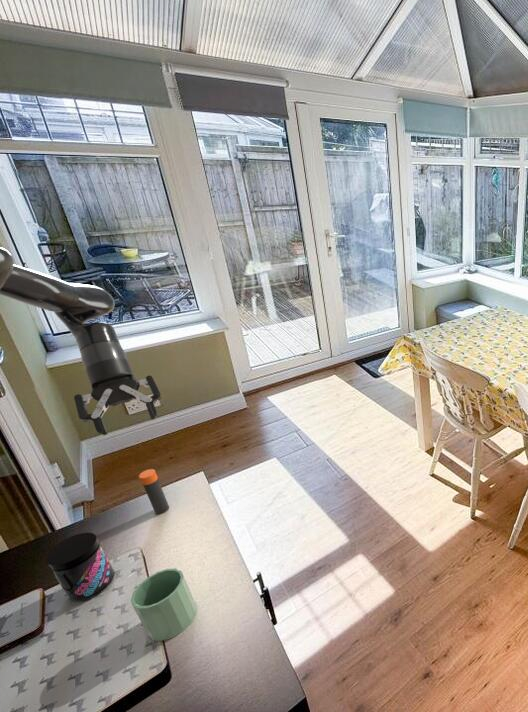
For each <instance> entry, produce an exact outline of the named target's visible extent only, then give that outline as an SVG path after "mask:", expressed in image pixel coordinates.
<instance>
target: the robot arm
mask: <svg viewBox="0 0 528 712" xmlns="http://www.w3.org/2000/svg"><path fill="white" fill-rule="evenodd" d="M0 295H1V296H4V297H6V298H9V299H12V300H14V301H18V302H21V303H23V304H26V305H29V306H32V307H35V308H39V309H41V310H42V309H43V310H46V311H49V312H53V313H54V315H55V316H56V317H57V318H58V319H59V320H60V321H61V322H62V323H63V324H64V326H65V327H66V328H67V329H68V331H69V332H70V333H71V334H72V336H73V338H74V339H75V342H76V344H77V347H78V350H79V352H80V358H81V362H82V366H83V368H84V371H85V374H86V377H87V380H88V382H89V385H90V387H91V391H90V392H89V393H86V394H83V395H81V394H79V393H78V394H75V395H74V396H73V400H74V403H75V408H76V411H77V414H78V415H77V416H78V419H80V421H81V422H83V423H87V422H92V423H93V425H94V428H95V431H96V432H97V434H99V435H101V434H102V435H103V436H106V435H108V431H107V428H106V424H105V422H104V420H103V418H102V417H104V414H105V413H106V412H107V410H108V409H109V407H116V406H119V405H121V404H125V403H129V402H131V401H132V400H135V401H137V402H139V403H143V404H145V407H146V409H147V412H148V414H149V416H150V420H155V419H156V417H157V416H158V411H157V408H156V405H155V403H156V402H157V401H160V400H162V394H161V392H160V390H159V388H158V385H157V384H156V382H155V380H154V377H153V376H152V375H147V376H146V377H145V378H142V379H138V380H137V379H136V377H135V376H134V373H133V370H132V367H131V365H130V363H129V359H128V356H127V354H126V352H125V350H124V349H123V347H122V345H121V342H120V340H119V338H118V335H117V333H116V330H115V328H114V326H113V325H111V324H110V323H107V322H103V321H100V322H97V321H96V322H88V321H92V320H94V319H98V318H100V317H103V316H105V315H108V314H110V313H112V312H113V311H114V308H115V306H116V302H115V299H114V297H113V296H112V295H111V294H110V293H109V292H108V291H106V290H105V289H103V288H101V287H99V286H96V285H91V284H83V283H74V282H67V281H64V280H62V279H59V278H57V277H54V276H52V275H49V274H46V273H42V272H40V271H36V270H33V269H30V268H26V267H23V266H20V265H16V264H14V258H13V256H12V254H11V253H10V252H9V250H7V249H5V248H3V247H1V246H0ZM87 322H88V323H87ZM141 386H144V387H145V388H149V389H150V392H151V394H152V395H151V396H149V395H146V394H144V393H142V392H140V391H139V388H140V387H141ZM92 399H93V400H95V401H97V404H96V405H95V408H94V410H93V412H92V413H89V412H88V408H87V405H88V404H90V400H92Z"/></svg>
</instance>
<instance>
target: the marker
mask: <svg viewBox="0 0 528 712" xmlns="http://www.w3.org/2000/svg"><path fill="white" fill-rule="evenodd" d="M158 478H159V477H158V474H157V473H156V470H155V469H153V468H150V469H146V470H143V471H142V472H140V474H139V475H138V479H139V481H140V483H141V485H142V486H143V488H144V490H145V493H146V495H147V498H148V499H149V502H150V504H151V506H152V508H153V511H154V513H155V514H156V515H161V514H164V513H166V512H167V511H168V510H170V509H169V508H170V505H169V503H168V500H167V498H166V495H165V493H164V490H163V488H162V485H161V483H160V481H159V479H158Z"/></svg>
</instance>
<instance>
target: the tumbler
mask: <svg viewBox="0 0 528 712" xmlns="http://www.w3.org/2000/svg"><path fill="white" fill-rule="evenodd" d="M130 603H131V606H132V608H133V609H134V611H135V613H136V615H137V617H138V619H139V621H140V623H141V624H142V626H143V628H144V630H145V632H146V634H147V636H148V637H149V638H150V639H151V640H152V641H155V642H163V641H168V640H170V639H173V638H174V637H176V636H178V635H180V634H181V633H182V632H184V631H185V630H186V629H187V628H188V627H189V626H190V625H191V623H192V622H193V621H194V619H195V617H196V615H197V611H198V606H197V604H196V602H195V599H194V597H193V594H192V592H191V590H190V587H189V585H188V583H187V580H186V579H185V575H184V574H183V572H182V570H181V569H179V568H174V567H173V568H165V569H161V570H159V571H157V572H155V573H153V574H151V575H149V576H147V577H146V578H145V579H144V580H142V582H140V583H139V584H138V586H136V588H135V589H134V590H133V592H132V594H131V598H130Z"/></svg>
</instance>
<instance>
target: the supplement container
mask: <svg viewBox="0 0 528 712" xmlns="http://www.w3.org/2000/svg"><path fill="white" fill-rule="evenodd" d="M44 561H45V564H46V565H47V566H48V569H49V570H50V571H51V573H52V574H53V576H54V578H55V579H56V580H57V582H58V583H59V585H60V587H61V588H62V590H63V592H64V593H65V595H66V596H67V598H68V599H69V600H71V601H74V602H81V601H85V600H88V599H91V597H92V598H93V596H94V597H96V596H98V595H100V593H102V592H104V591H105V590H106V589H107V588H108V587H109V586H110V585H111V583H112V582H113V580H114V578H115V574H116V573H115V571H116V570H115V569H114V568H113V566H112V564H111V562H110V560H109V558H108V556H107V554H106V552H105V551H104V548H103V547H102V545H101V542H100V540H99V538H98V537H97V535H96V534H95V533H93V532H82V533H78V534H74V535H72V536H69V537H67V538H65V539H63V540H62V541H60V542H58V543H57V544H55V545H54V546H53V547H52V548H51V549H50V550H49V551H48V552H47V554H46V555H45V557H44ZM108 585H109V586H108ZM107 586H108V587H107ZM106 587H107V588H106ZM105 588H106V589H105ZM101 591H102V592H101ZM95 595H96V596H95Z"/></svg>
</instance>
